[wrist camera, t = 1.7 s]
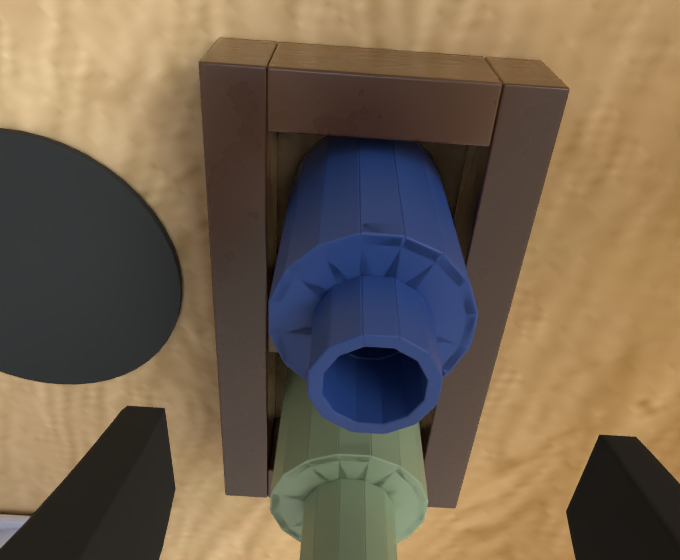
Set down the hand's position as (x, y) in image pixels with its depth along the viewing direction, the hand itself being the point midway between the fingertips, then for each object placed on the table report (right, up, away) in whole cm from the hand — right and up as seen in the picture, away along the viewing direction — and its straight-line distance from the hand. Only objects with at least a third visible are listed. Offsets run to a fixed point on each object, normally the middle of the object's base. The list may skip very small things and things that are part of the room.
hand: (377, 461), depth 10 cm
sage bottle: (0, 0, +13) cm, 13 cm away
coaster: (-11, +3, +10) cm, 15 cm away
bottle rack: (0, +3, +11) cm, 11 cm away
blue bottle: (0, +6, +9) cm, 10 cm away
